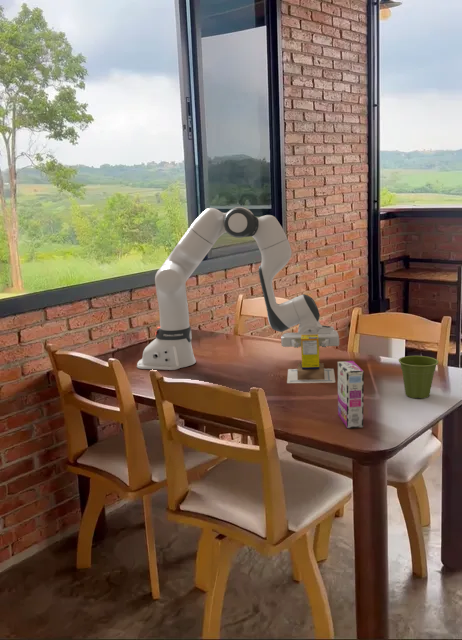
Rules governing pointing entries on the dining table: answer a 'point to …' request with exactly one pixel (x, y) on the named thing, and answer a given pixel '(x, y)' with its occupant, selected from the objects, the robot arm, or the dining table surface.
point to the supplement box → (310, 351)
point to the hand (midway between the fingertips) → (310, 345)
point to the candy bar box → (350, 394)
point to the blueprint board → (328, 378)
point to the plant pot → (418, 375)
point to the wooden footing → (310, 373)
